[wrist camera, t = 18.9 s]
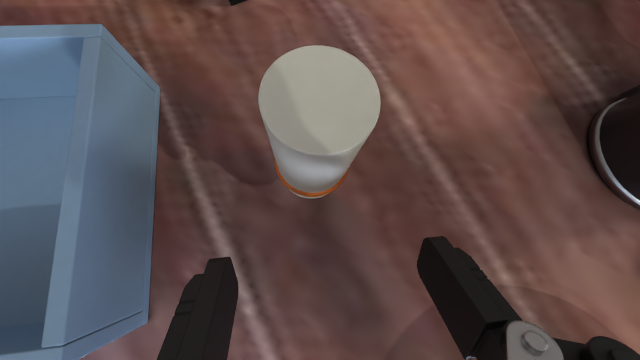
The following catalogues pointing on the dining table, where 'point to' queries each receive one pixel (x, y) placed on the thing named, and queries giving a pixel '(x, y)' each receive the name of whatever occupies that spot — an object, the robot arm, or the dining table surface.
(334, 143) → the white cylinder orange band
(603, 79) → the dining table surface
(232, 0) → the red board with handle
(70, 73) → the tote
